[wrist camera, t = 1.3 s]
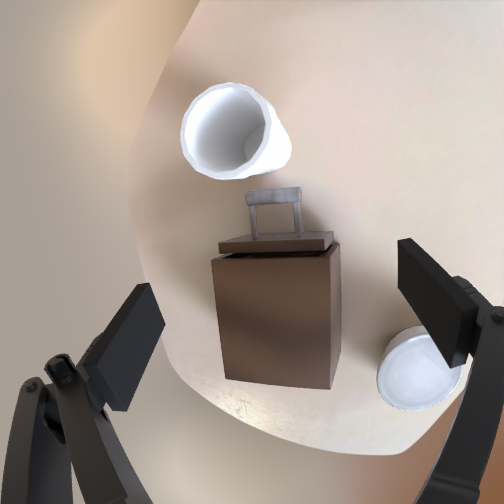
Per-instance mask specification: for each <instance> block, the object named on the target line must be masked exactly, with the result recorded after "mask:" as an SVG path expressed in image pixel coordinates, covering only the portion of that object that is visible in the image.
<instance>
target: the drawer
mask: <svg viewBox="0 0 504 504" xmlns="http://www.w3.org/2000/svg"><path fill="white" fill-rule="evenodd" d="M245 199H246V203H247V205H248V206H249V207H250V219H251V231H252V235H244V236H240V237H237V238H233V239H230V240H227V241H223V242H220V243H218V244H219V253H220V254H226V253H264V252H302V251H325V250H326V249H327V248H328V247H329V245H330V244H331V243H332V242H333V241H334V235H333V231H323V232H302V228H301V214H300V202H301V200H302V192H301V188H300V187H291V188H280V189H269V190H258V191H248V192H246V196H245ZM290 202H293V207H294V221H295V233H276V234H258V225H257V213H256V205H264V204H276V203H290ZM326 253H327V252H320V253H280V254H251V255H249V256H246V257H244V258H278V257H323V256H324V255H325V254H326Z"/></svg>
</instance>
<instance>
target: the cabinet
mask: <svg viewBox="0 0 504 504" xmlns="http://www.w3.org/2000/svg"><path fill="white" fill-rule="evenodd" d="M320 252H327V253H326V254H325V255H324V256H323V257H278V258H244V257H246V256H249V255H251V254H280V253H320ZM211 263H212V273H213V282H214V291H215V300H216V309H217V317H218V325H219V334H220V341H221V349H222V357H223V364H224V372H225V378H226V379H230V380H237V381H244V382H251V383H259V384H268V385H277V386H287V387H298V388H311V389H327V390H330V389H331V386H332V383H333V379H334V375H335V372H336V368H337V364H338V360H339V356H340V352H341V267H340V244H330V245H329V247H328V248H327V249H326V250H325V251H302V252H264V253H228V254H226V255H223V256H220V257H218V258H215V259H213V260H211Z"/></svg>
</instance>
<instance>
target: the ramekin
mask: <svg viewBox="0 0 504 504" xmlns="http://www.w3.org/2000/svg"><path fill="white" fill-rule="evenodd" d="M462 371H463V365H460V366H458V367H455V368H452V369H450V368H449V366H448V365H447V363H446V361H445V360H444V358H443V356H442V355H441V353H440V351H439V350H438V348H437V346H436V345H435V343H434V342H433V340H432V338H431V337H430V335H429V334H428V332H427V330H426V329H425V327H424V326H422V325H421V326H413V327H410V328H407V329H406V330H403V331H402V332H400V333H399V334H398V335H396V336H395V337H394V338H393V339H392V340H391V341H390V342H389V344H388V346H387V347H386V350H385V351H384V354H383V357H382V359H381V361H380V364H379V366H378V370H377V387H378V391H379V393H380V395H381V396H382V398H383V399H384V400H385V401H386V402H387V403H388V404H390V405H391V406H393V407H395V408H397V409H401V410H404V411H417V410H423V409H427V408H429V407H432V406H434V405H436V404H438V403H439V402H441V401H442V400H444V399H445V398H446V397H447V396H448V395H449V394H450V393H451V392H452V391H453V390H454V389H455V388H456V386H457V384H458V382H459V380H460V378H461V375H462Z"/></svg>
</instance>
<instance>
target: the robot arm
mask: <svg viewBox="0 0 504 504" xmlns="http://www.w3.org/2000/svg"><path fill="white" fill-rule="evenodd" d="M398 288H399V290H400V291H401V293H402V294H403V296H404V297H405V299H406V300H407V301H408V303H409V304H410V306H411V307H412V309H413V310H414V312H415V313H416V315H417V317H418V318H419V320H420V321H421V323H422V324H423V326H424V327H425V329H426V330H427V332H428V334H429V335H430V337H431V338H432V340H433V342H434V343H435V345H436V346H437V348H438V350H439V351H440V353H441V355H442V356H443V358H444V360H445V361H446V363H447V365H448V366H449V368H450V369H452V368H455V367H458V366H460V365H463V364H466V361H467V357H468V354H469V353H470V354H471V356H472V357H473V362H472V365H471V368H470V371H469V374H468V379H467V382H466V385H465V388H464V391H463V395H462V397H461V400H460V403H459V406H458V409H457V411H456V414H455V417H454V419H453V422H452V425H451V427H450V430H449V432H448V434H447V437H446V439H445V441H444V444H443V446H442V448H441V450H440V453H439V455H438V457H437V459H436V461H435V463H434V465H433V467H432V469H431V471H430V473H429V475H428V477H427V479H426V481H425V483H424V485H423V487H422V488H421V490H420V492H419V494H418V496H417V497H416V499H415V501H414V503H413V504H477V501H478V498H479V494H480V490H479V485H480V481H481V479H482V476H483V474H484V471H485V468H486V465H487V462H488V459H489V456H490V453H491V450H492V447H493V444H494V440H495V437H496V433H497V429H498V425H499V422H500V417H501V413H502V409H503V404H504V307H501V306H494V307H493V306H492V305H491V304H490V303H489V301H488V300H487V299H486V298H485V297H484V296H483V295H482V294H481V293H480V292H478V290H477V289H476V288H475V287H473V285H472V284H471V283H470V282H469V281H468V280H466V279H464V278H462V277H460V276H454V277H451V276H450V275H449V274H448V273H447V272H446V271H445V270H444V269H443V268H442V267H441V266H440V265H439V264H438V263H437V262H436V261H435V260H434V259H433V258H432V257H431V256H430V255H429V254H428V253H426V252H425V251H424V250H423V249H422V248H421V247H420V246H419V245H418V244H417V243H416V242H415V241H414V240H412V239H411V238H407V239H402V240H398ZM164 327H165V322H164V319H163V317H162V314H161V312H160V309H159V307H158V304H157V301H156V299H155V296H154V294H153V291H152V288H151V286H150V283H143V284H137V286H136V287H135V288H134V290H133V291H132V292H131V294H130V295H129V297H128V298H127V299H126V301H125V302H124V304H123V305H122V306H121V308H120V309H119V311H118V312H117V313H116V315H115V316H114V318H113V319H112V320H111V322H110V323H109V325H108V326H107V328H106V329H105V330H104V332H103V333H101V334H100V335H99V336H97V337H96V338H95V339H94V340H93V342H92V343H91V345H90V347H89V348H88V349H87V350H86V353H84V355H83V356H82V358H81V360H80V361H79V362H78V364H77V365H76V367H75V365H74V364H73V362H72V360H71V359H70V357H69V356H68V354H59V355H56V356H54V357H53V358H51V359H50V360H49V361H48V362H47V363H46V365H45V368H44V370H45V371H46V373H47V374H48V376H49V377H50V379H51V380H52V382H53V383H52V384H47V385H45V384H44V383H43V381H42V380H41V379H40V378H39V377H34V378H31V379H28V380H27V381H25V383H24V384H23V385H22V387H21V389H20V393H19V397H18V400H17V405H16V408H15V412H14V417H13V421H12V426H11V431H10V436H9V441H8V447H7V453H6V459H5V466H4V473H3V482H2V492H1V493H2V494H1V504H73V495H72V479H71V478H72V477H71V462H72V465H73V468H74V471H75V475H76V478H77V481H78V484H79V487H80V490H81V493H82V495H83V498H84V501H85V503H86V504H153V503H152V501H151V499H150V497H149V496H148V494H147V492H146V491H145V489H144V487H143V485H142V484H141V482H140V480H139V478H138V476H137V475H136V473H135V471H134V469H133V467H132V465H131V463H130V461H129V459H128V457H127V456H126V453H125V451H124V449H123V447H122V445H121V443H120V441H119V439H118V437H117V435H116V433H115V430H114V428H113V426H112V424H111V421H110V419H109V417H108V414H107V413H106V411H105V410H104V408H103V407H104V405H105V403H106V402H107V404H108V405H109V406H110V408H111V409H112V411H127V410H128V407H129V405H130V403H131V401H132V398H133V396H134V393H135V391H136V389H137V387H138V384H139V382H140V380H141V377H142V375H143V373H144V371H145V368H146V366H147V364H148V362H149V359H150V357H151V355H152V353H153V351H154V348H155V346H156V344H157V342H158V340H159V337H160V335H161V333H162V331H163V329H164Z"/></svg>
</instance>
